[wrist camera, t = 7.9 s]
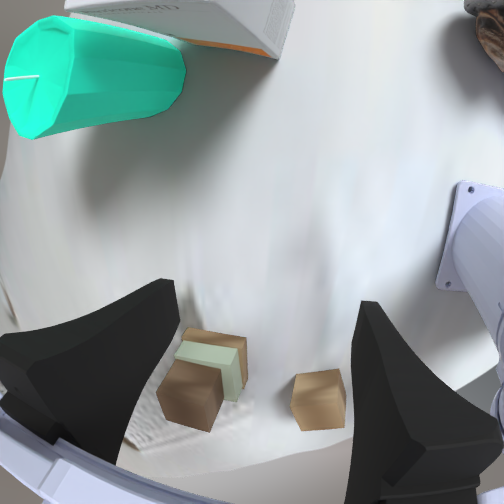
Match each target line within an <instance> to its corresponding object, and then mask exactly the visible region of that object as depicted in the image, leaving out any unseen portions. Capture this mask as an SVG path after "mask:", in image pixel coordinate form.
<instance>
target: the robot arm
mask: <svg viewBox="0 0 504 504" xmlns="http://www.w3.org/2000/svg"><path fill="white" fill-rule="evenodd" d="M470 186H472V191H471V192H468V188H469V187H470ZM449 281H450V283H449V284H448V285H445V284H446V283H447V282H449ZM435 284H436V286H437V288H438V289H440V290H451V291H463V292H468V293H469V295H470V297H471V298H472V300H473V302H474V304H475V306H476V308H477V309H478V311H479V313H480V315H481V317H482V319H483V321H484V323H485V325H486V327H487V329H488V331H489V333H490V335H491V337H492V339H493V341H494V344H495V346H496V348H497V350H498V352H499V356H500V358H499V363H498V365H497V368H496V371H497V374H498V376H499V379H500V382H501V384H502V386H501V387H500V389H499V390H498V391H497V393H496V395H495V397H494V399H493V402H492V405H491V411H490V414H488V413H486V412H484V411H483V410H481V409H479V408H478V407H476V406H474V405H473V404H471V403H470V402H468V401H467V400H466V399H464V398H463V397H461V396H460V395H459V394H457V393H456V392H455V391H453V390H452V389H451V388H450V387H449V386H447V385H446V384H445V383H444V382H443V381H442V380H440V379H439V378H438V377H437V376H436V375H435V374H434V373H433V372H432V371H431V370H430V369H429V368H428V367H427V366H426V365H425V364H424V363H423V362H422V361H421V360H420V359H419V358H418V356H417V355H416V354H415V353H414V352H413V351H412V349H411V348H410V347H409V346H408V345H407V343H406V342H405V341H404V339H403V338H402V337H401V335H400V334H399V332H398V331H397V330H396V328H395V327H394V325H393V324H392V323H391V321H390V320H389V318H388V317H387V315H386V314H385V312H384V311H383V309H382V308H381V306H380V305H379V303H378V302H372V301H361V305H360V309H359V314H358V318H357V323H356V327H355V331H354V335H353V339H352V347H351V374H352V387H353V402H354V436H353V447H352V457H351V465H350V472H349V479H348V486H347V491H346V497H345V502H344V504H504V486H503V487H500V488H496V489H492V490H489V491H486V492H483V493H481V494H479V495H476V487H478V486H479V485H480V477H479V474H480V473H482V472H483V471H484V470H485V469H486V468H487V467H488V466H489V465H491V464H492V463H493V462H494V461H495V460H496V459H497V457H498V456H499V455H500V454H501V452H502V453H503V454H504V189H502V188H498V187H494V186H489V185H485V184H480V183H475V182H470V181H465V180H462V181H460V182H459V183H458V185H457V189H456V195H455V201H454V206H453V212H452V217H451V221H450V226H449V231H448V235H447V240H446V244H445V248H444V252H443V256H442V260H441V263H440V267H439V271H438V274H437V278H436V282H435ZM179 323H180V316H179V311H178V305H177V299H176V293H175V286H174V280H169V279H162V278H160V279H157V280H155V281H153V282H151V283H149V284H147V285H145V286H143V287H141V288H140V289H138V290H136V291H134V292H132V293H130V294H128V295H127V296H125V297H123V298H121V299H119V300H117V301H115V302H113V303H111V304H109V305H107V306H105V307H103V308H101V309H99V310H97V311H95V312H92V313H90V314H88V315H85V316H82V317H80V318H77V319H74V320H71V321H68V322H65V323H62V324H58V325H55V326H51V327H47V328H43V329H38V330H33V331H26V332H17V333H7V334H4V335H2V336H1V337H0V381H1V382H2V384H3V385H4V387H5V388H6V390H7V392H6V393H5V395H3V394H2V393H1V392H0V465H1V466H3V467H4V468H5V469H6V470H7V471H8V472H9V473H11V474H12V475H13V476H14V477H15V478H17V479H18V480H19V481H20V482H22V483H23V484H24V485H26V486H27V487H28V488H30V489H31V490H32V491H33V492H35V493H36V494H38V495H39V496H40V497H42V498H43V499H44V501H43V502H42V504H233V503H229V502H224V501H220V500H216V499H212V498H207V497H204V496H200V495H196V494H193V493H189V492H186V491H182V490H179V489H176V488H173V487H170V486H167V485H164V484H161V483H158V482H155V481H153V480H150V479H147V478H144V477H142V476H139V475H137V474H134V473H132V472H129V471H127V470H124V469H122V468H120V467H117V466H115V465H116V461H117V458H118V454H119V451H120V447H121V443H122V440H123V438H124V435H125V432H126V429H127V426H128V423H129V420H130V418H131V415H132V413H133V410H134V408H135V405H136V403H137V401H138V399H139V396H140V394H141V392H142V390H143V388H144V386H145V384H146V382H147V380H148V379H149V377H150V376H151V374H152V372H153V371H154V369H155V367H156V366H157V364H158V363H159V361H160V359H161V358H162V356H163V355H164V353H165V351H166V350H167V348H168V346H169V345H170V343H171V341H172V339H173V337H174V335H175V332H176V330H177V328H178V325H179Z"/></svg>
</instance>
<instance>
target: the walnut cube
mask: <svg viewBox="0 0 504 504" xmlns="http://www.w3.org/2000/svg"><path fill="white" fill-rule="evenodd" d="M156 395H157V397H158V400H159V403H160V406H161V408H162V411H163V413H164V416H165V419H166V420H168V421H171V422H174V423H178V424H181V425H184V426H188V427H191V428H195V429H198V430H202V431H206V432H209V433H210V431H211V428H212V426H213V424H214V421H215V419H216V416H217V414H218V412H219V409H220V407H221V404H222V402H223V400H224V391H223V383H222V373H221V369H219V368H214V367H209V366H205V365H200V364H196V363H192V362H188V361H184V360H179V359H176V360H175V362H174V363H173V365H172V367H171V368H170V370H169V372H168V373H167V375H166V376H165V378H164V380H163V381H162V383H161V385H160V386H159V388H158V390H157V391H156Z"/></svg>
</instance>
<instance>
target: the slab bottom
mask: <svg viewBox="0 0 504 504" xmlns="http://www.w3.org/2000/svg"><path fill="white" fill-rule="evenodd" d="M183 340H185V341H191V342H197V343H203V344H209V345H216V346H223V347H230V348H237V349H238V355H239V363H240V370H241V377H242V384H243V387H242V389H244V388H245V385H246V382H247V379H248V369H247V341H246V337H240V336H234V335H228V334H222V333H216V332H211V331H205V330H200V329H194V328H189V327H188V328H187V329H186V331H185V333H184V334H183V336H182V342H183Z"/></svg>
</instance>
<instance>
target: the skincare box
mask: <svg viewBox="0 0 504 504" xmlns="http://www.w3.org/2000/svg"><path fill="white" fill-rule="evenodd" d="M64 10H65V11H67V12H74V13H79V14H84V15H89V16H94V17H99V18H104V19H109V20H113V21H117V22H121V23H125V24H129V25H133V26H136V27H140V28H144V29H147V30H150V31H153V32H157V33H160V34H164V35H167V36H170V37H173V38H176V39H179V40H182V41H185V42H187V43H190V44H193V45H200V46H210V47H218V48H225V49H232V50H238V51H243V52H248V53H252V54H257V55H261V56H266V57H270V58H274V59H279V58H280V56H281V53H282V49H283V45H284V42H285V39H286V36H287V32H288V29H289V26H290V23H291V19H292V16H293V13H294V10H295V2H294V0H66V2H65V6H64Z"/></svg>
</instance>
